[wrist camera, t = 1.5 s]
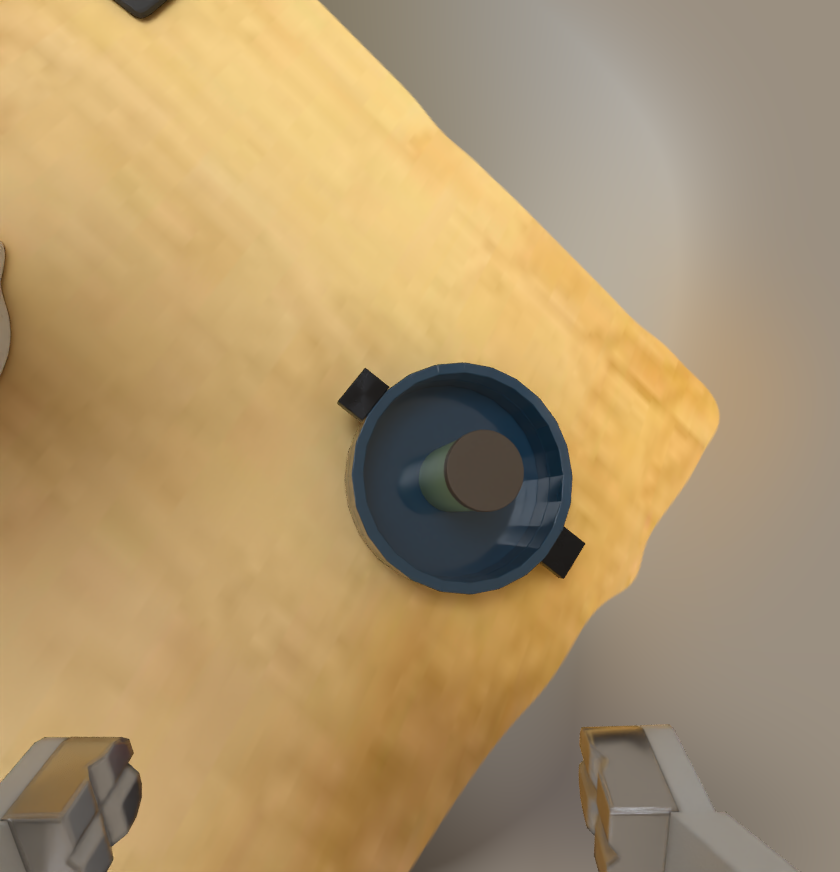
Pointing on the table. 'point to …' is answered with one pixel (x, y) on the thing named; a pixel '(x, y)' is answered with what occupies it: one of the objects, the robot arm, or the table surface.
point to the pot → (469, 530)
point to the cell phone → (140, 6)
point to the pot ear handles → (365, 398)
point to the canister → (472, 473)
